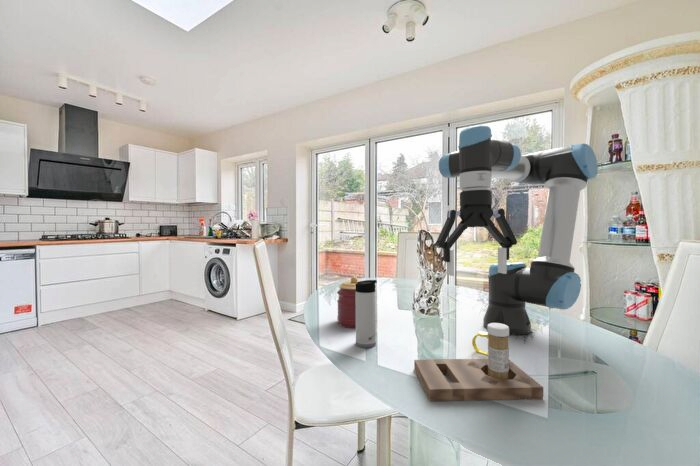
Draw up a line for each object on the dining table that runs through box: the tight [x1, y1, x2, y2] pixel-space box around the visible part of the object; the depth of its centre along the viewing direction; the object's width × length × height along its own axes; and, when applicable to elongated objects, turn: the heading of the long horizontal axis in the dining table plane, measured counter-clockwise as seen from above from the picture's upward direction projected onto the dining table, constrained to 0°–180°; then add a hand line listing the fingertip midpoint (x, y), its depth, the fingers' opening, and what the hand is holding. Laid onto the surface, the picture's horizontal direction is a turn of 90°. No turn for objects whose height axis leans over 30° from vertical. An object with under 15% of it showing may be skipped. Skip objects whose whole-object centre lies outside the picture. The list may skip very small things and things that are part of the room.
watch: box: [471, 331, 488, 356], centre depth 87 cm, size 6×3×6 cm, turn 45°
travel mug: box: [355, 279, 377, 349], centre depth 94 cm, size 6×7×20 cm
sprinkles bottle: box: [486, 323, 510, 379], centre depth 71 cm, size 5×5×13 cm
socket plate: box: [413, 358, 544, 402], centre depth 71 cm, size 24×14×2 cm, turn 91°
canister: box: [336, 276, 361, 329], centre depth 115 cm, size 13×13×18 cm
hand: (476, 274), depth 77 cm, fingers open, 13 cm apart
